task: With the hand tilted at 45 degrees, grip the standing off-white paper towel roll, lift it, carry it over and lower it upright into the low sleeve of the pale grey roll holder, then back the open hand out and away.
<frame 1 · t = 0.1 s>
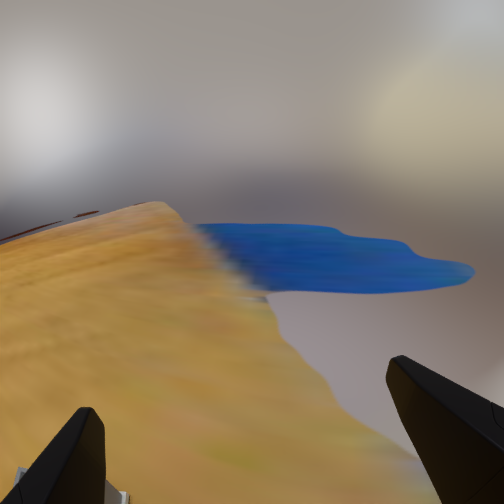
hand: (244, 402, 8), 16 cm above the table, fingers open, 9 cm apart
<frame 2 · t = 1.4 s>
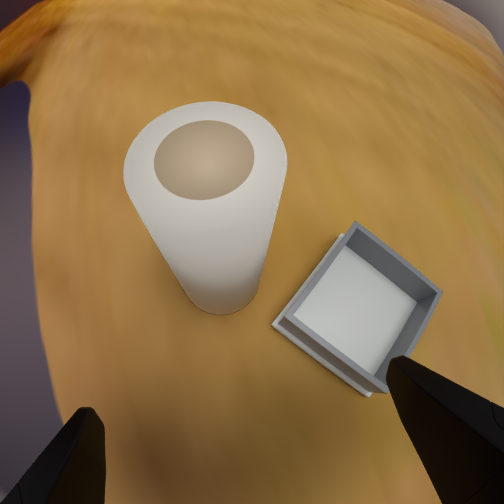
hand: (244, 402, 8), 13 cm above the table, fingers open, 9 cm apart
paper towel roll: (220, 276, 23), on the table
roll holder: (354, 314, 23), on the table
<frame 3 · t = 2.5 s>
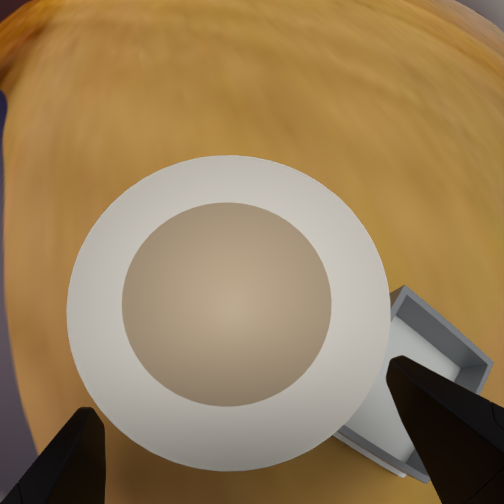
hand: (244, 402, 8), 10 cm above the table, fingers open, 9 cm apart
paper towel roll: (233, 352, 18), on the table
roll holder: (392, 389, 17), on the table
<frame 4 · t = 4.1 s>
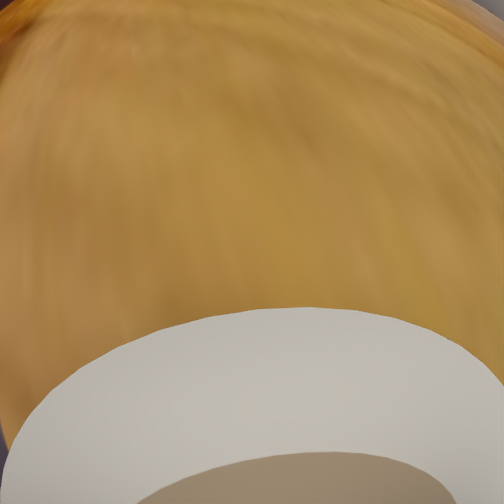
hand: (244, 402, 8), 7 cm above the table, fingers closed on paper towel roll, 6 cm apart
paper towel roll: (245, 414, 14), on the table, touching gripper
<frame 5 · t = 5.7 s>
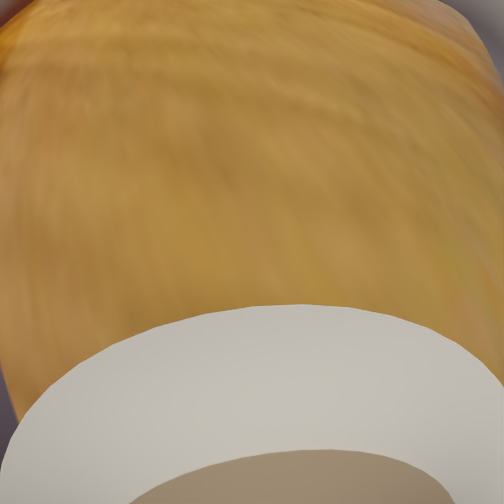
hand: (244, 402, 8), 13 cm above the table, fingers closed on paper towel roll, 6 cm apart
paper towel roll: (245, 413, 14), point 6 cm above the table, touching gripper
when the fingers open (9 cm above the table, at t = 7.8 s): paper towel roll drops 1 cm, resting on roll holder.
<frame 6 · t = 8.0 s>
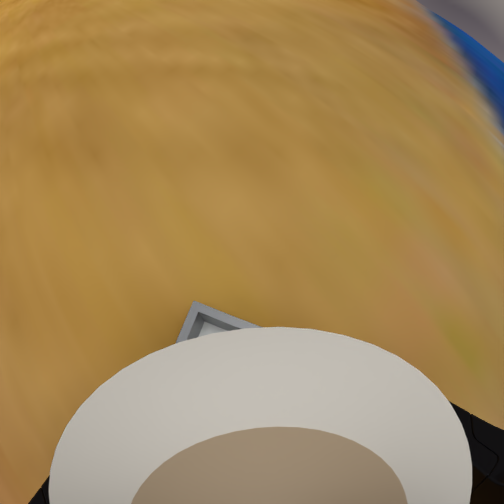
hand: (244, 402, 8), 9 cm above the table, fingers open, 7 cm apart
paper towel roll: (245, 411, 15), point 1 cm above the table, touching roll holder
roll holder: (244, 409, 16), on the table
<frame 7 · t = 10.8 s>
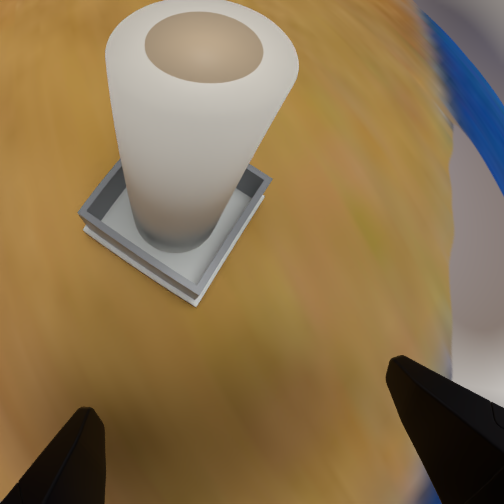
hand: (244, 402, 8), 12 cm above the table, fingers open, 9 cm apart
paper towel roll: (175, 211, 21), point 1 cm above the table, touching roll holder
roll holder: (175, 214, 21), on the table
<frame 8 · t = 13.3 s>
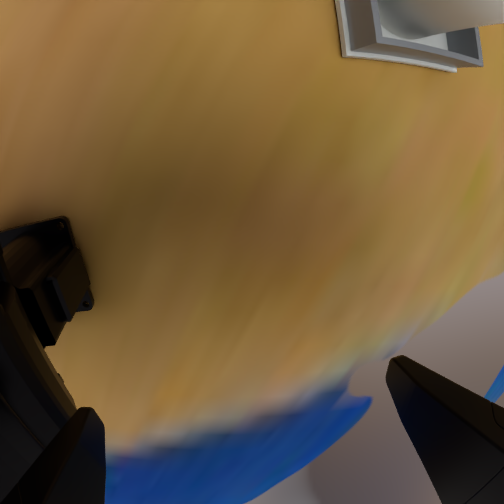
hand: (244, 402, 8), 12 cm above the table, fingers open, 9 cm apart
paper towel roll: (400, 1, 14), point 1 cm above the table, touching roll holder
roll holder: (395, 3, 14), on the table
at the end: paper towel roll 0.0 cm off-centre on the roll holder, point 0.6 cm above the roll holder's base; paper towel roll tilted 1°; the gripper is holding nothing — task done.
